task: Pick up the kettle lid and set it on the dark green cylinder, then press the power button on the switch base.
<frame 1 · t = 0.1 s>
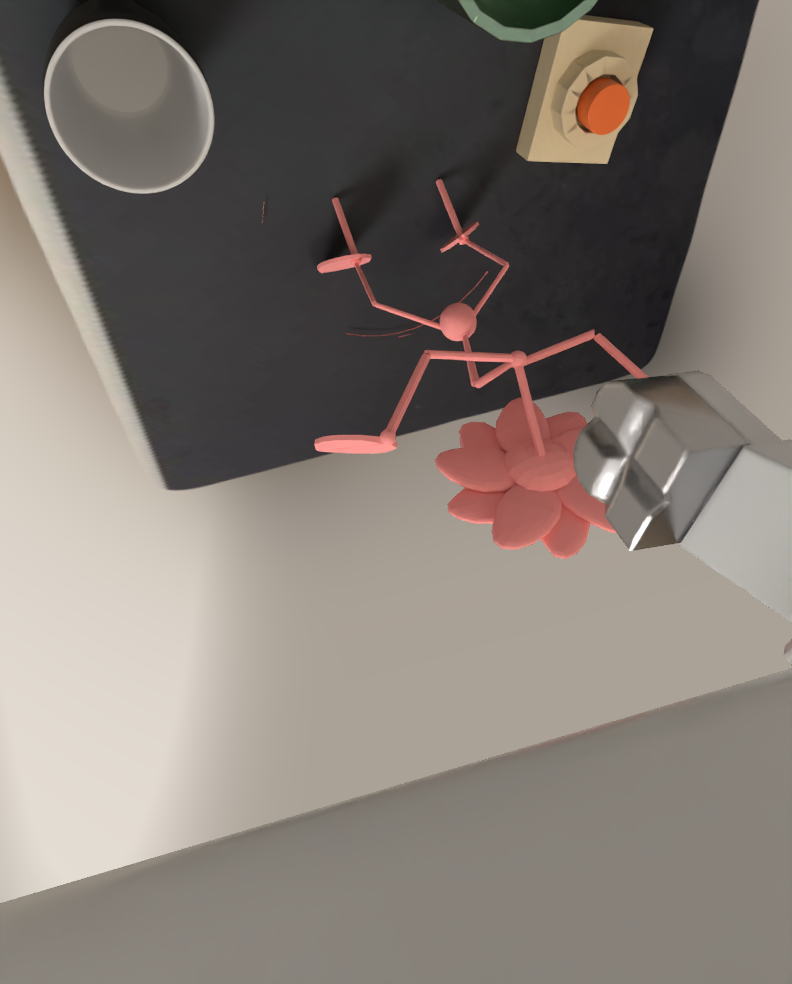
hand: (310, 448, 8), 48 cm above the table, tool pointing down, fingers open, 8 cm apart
power button: (603, 106, 53), point 4 cm above the table, slide at 0.1 cm
mug: (114, 33, 44), on the table
figurine: (387, 263, 62), on the table
switch base: (574, 88, 56), on the table
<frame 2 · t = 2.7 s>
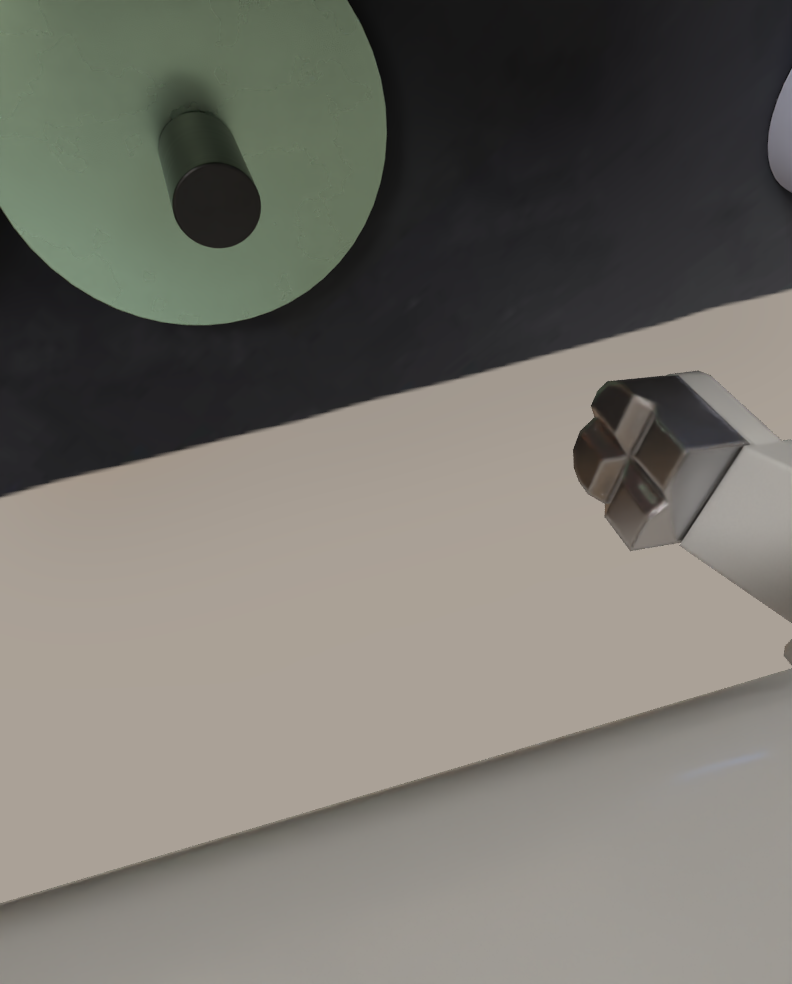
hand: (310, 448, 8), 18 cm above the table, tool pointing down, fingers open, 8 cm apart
kettle lid: (196, 146, 22), point 1 cm above the table
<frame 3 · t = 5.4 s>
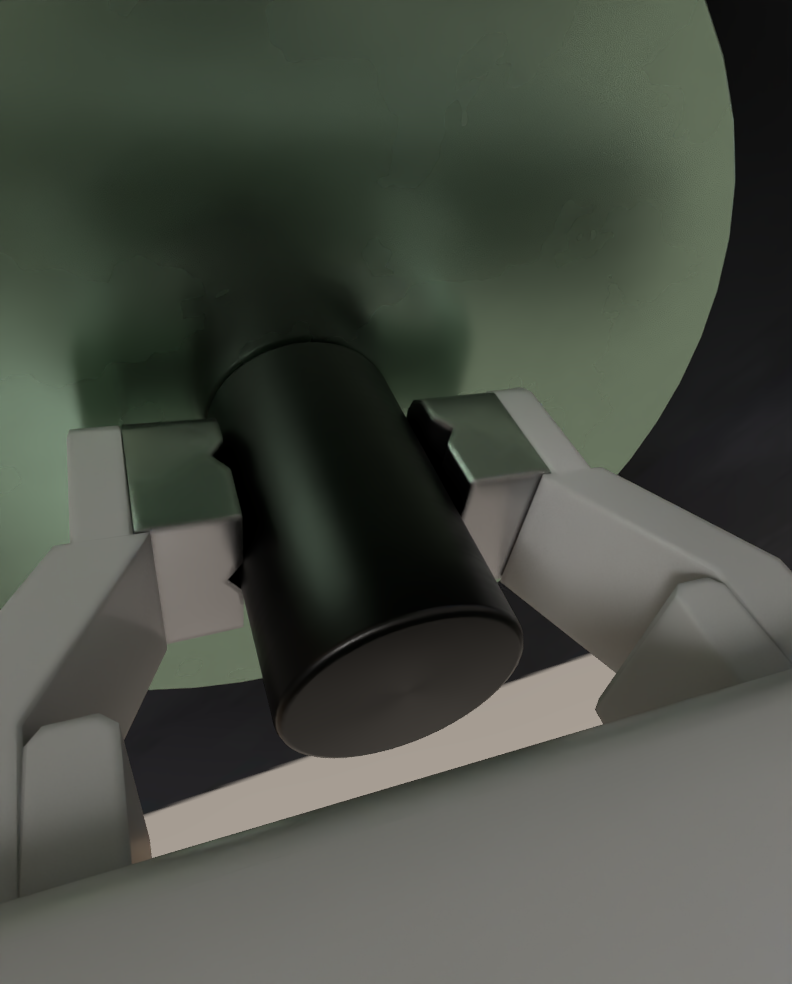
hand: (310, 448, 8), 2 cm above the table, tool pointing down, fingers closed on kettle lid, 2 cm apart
kettle lid: (291, 396, 9), point 1 cm above the table, touching gripper
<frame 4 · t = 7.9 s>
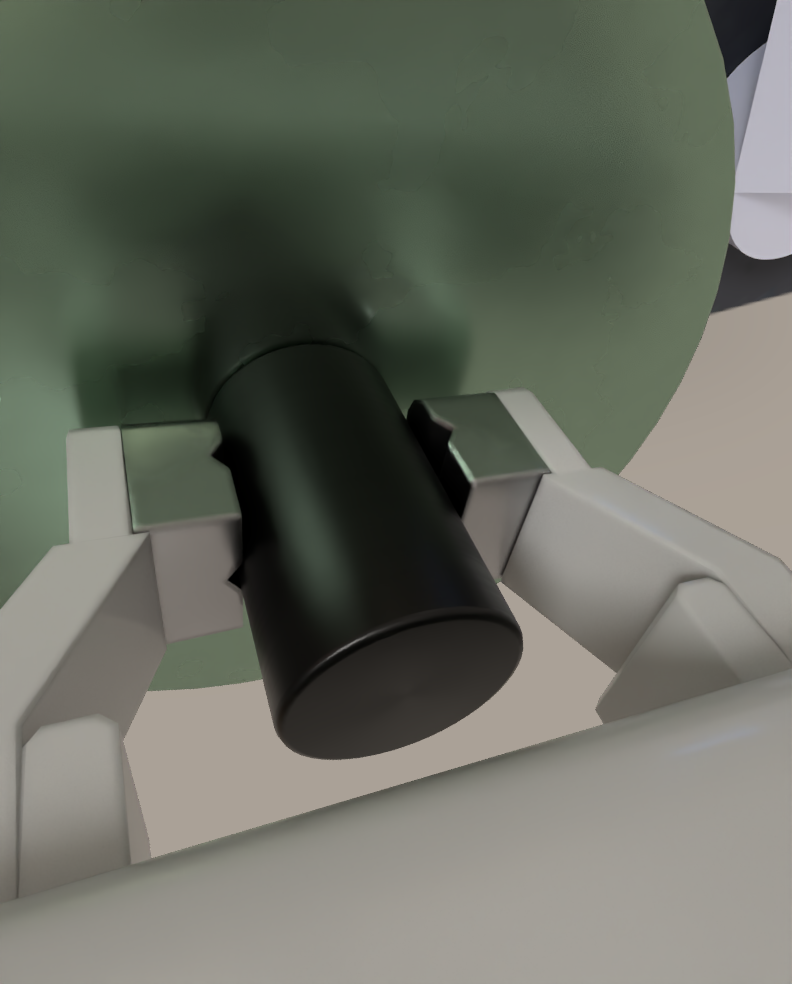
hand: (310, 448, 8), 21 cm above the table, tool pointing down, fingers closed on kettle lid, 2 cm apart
kettle lid: (291, 398, 9), point 19 cm above the table, touching gripper
wedge on round base: (775, 90, 31), on the table
when the fingers open (14 cm above the table, at t = 10.7 s): kettle lid stays where it is, resting on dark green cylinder.
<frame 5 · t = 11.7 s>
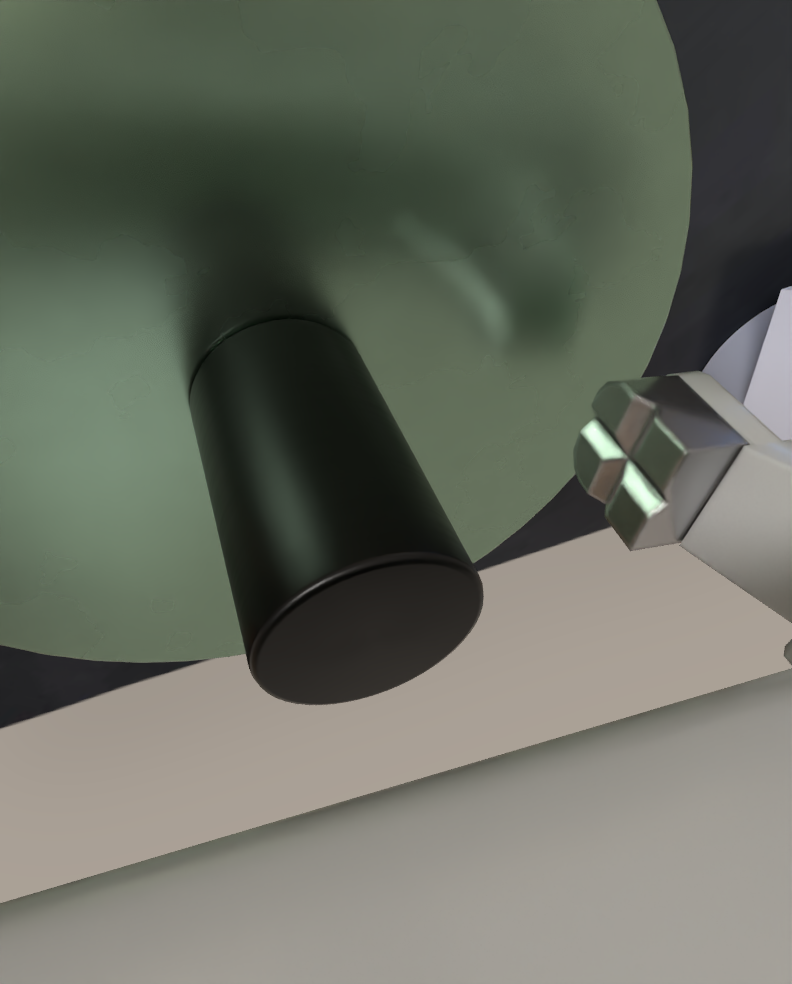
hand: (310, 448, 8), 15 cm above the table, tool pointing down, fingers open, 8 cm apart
kettle lid: (272, 373, 10), point 13 cm above the table, touching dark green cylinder
wedge on round base: (772, 337, 35), on the table
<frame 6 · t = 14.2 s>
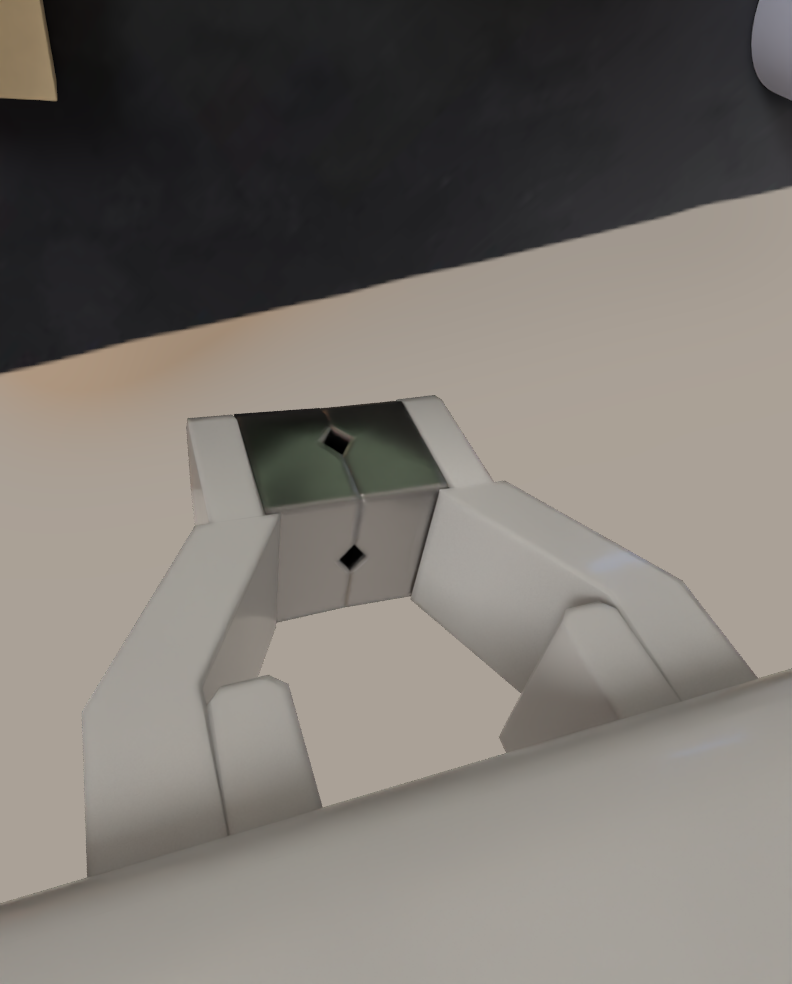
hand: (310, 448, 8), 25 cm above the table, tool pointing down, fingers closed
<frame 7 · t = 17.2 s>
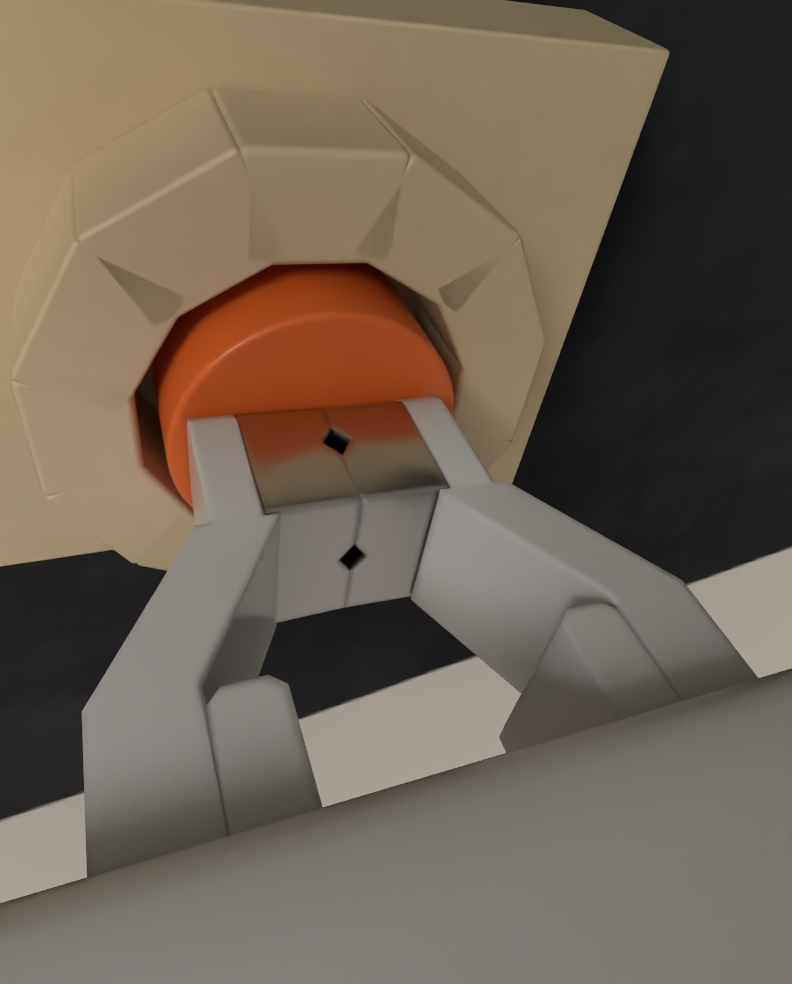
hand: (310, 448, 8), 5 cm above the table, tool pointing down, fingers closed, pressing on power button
power button: (303, 401, 9), point 4 cm above the table, slide at -0.7 cm, touching gripper
switch base: (249, 267, 11), on the table
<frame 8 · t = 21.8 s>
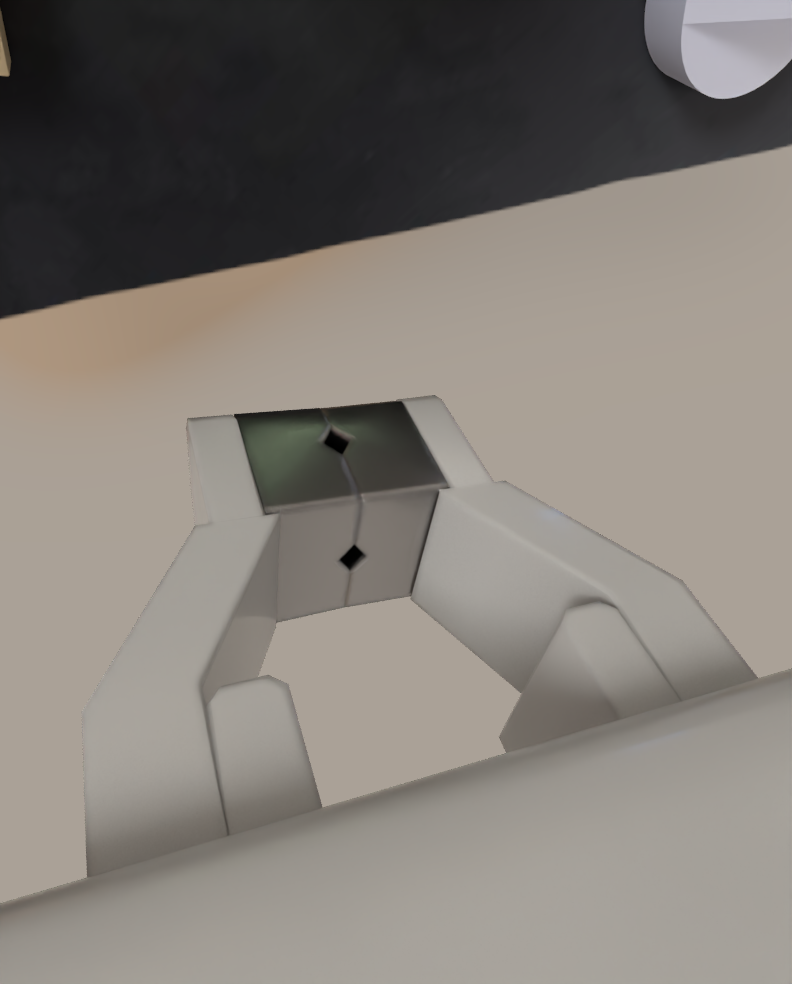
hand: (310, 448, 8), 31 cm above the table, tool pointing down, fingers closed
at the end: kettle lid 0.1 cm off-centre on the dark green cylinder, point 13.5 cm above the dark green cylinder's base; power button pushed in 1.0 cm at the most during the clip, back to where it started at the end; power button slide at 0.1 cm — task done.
